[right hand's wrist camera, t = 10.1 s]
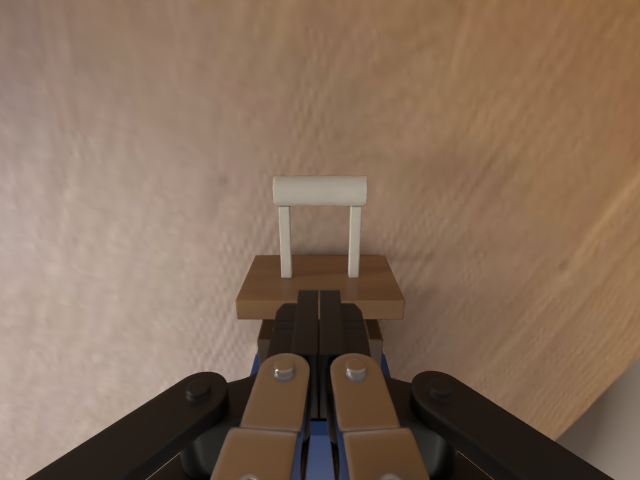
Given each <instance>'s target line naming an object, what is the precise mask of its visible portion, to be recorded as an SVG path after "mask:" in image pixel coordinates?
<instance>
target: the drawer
mask: <svg viewBox="0 0 640 480" xmlns="http://www.w3.org/2000/svg"><path fill="white" fill-rule="evenodd" d="M367 193H368V185H367V177H366V176H274V179H273V200H274V204H275V206H279V229H280V251H281V255H256V256H255V258H254V261H253V263H252V265H251V267H250V270H249V272H248V274H247V276H246V279H245V281H244V283H243V285H242V288H241V290H240V292H239V294H238V296H237V299H236V310H237V318H238V319H263V321H262V325H261V329H260V332H259V336H258V339H257V341H258V354H259V367H260V366H261V364H262V363H263V362H264V361H265V360H266V357H267V353H268V348H269V343H270V339H271V334H272V330H273V325H274V322H275V316H276V311H277V310H278V309H279V308H280V307H281V306H282V305H283V304H284V303H297V299H298V291H299V290H318V418H311V421H327V418H320V290H340V298H341V303H355V305H356V306H357V307H358V308H359V309H360V310H361V311H362V315H363V320H364V325H365V330H366V334H367V339H368V344H369V349H370V353H371V358H372V359H374V360H375V361H376V362H377V363H378V364H379V366H380V368H381V358H382V345H383V338H382V335H381V331H380V328H379V324H378V320H377V319H403V314H404V304H405V300H404V298H403V295H402V293H401V291H400V289H399V287H398V284H397V282H396V280H395V278H394V275H393V273H392V271H391V269H390V266H389V264H388V262H387V260H386V258H385V256H384V255H360V237H361V215H362V207H361V206H365V205H366V202H367ZM290 206H350V230H349V255H292V247H291V216H290Z"/></svg>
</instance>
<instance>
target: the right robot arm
mask: <svg viewBox="0 0 640 480" xmlns="http://www.w3.org/2000/svg"><path fill="white" fill-rule="evenodd" d="M311 418H318V290H299V291H298V299H297V303H284V304H283V305H282V306H281V307H280V308H279V309H278V310H277V311H276V316H275V322H274V325H273V330H272V334H271V339H270V343H269V348H268V353H267V357H266V360H265V361H264V362H263V363H262V364H261V366H260V368H259V371H257V372H256V373H255V374H253V375H251V376H249V377H247V378H244V379H241V380H237V381H233V382H229V383H227V382H226V380H225V378H224V377H223V376H222V375H220V374H218V373H214V372H200V373H196V374H193V375H190V376H188V377H186V378H184V379H183V380H181V381H180V382H178V383H177V384H175V385H173V386H172V387H170V388H169V389H167V390H166V391H164V392H162V393H161V394H159V395H158V396H156V397H155V398H153V399H151V400H150V401H148V402H147V403H145V404H144V405H142V406H140V407H139V408H137V409H136V410H134V411H133V412H131V413H129V414H128V415H126V416H125V417H123V418H122V419H120V420H118V421H117V422H115V423H114V424H112V425H111V426H109V427H108V428H106V429H104V430H103V431H101V432H100V433H98V434H97V435H95V436H93V437H92V438H90V439H89V440H87V441H86V442H84V443H82V444H81V445H79V446H78V447H76V448H75V449H73V450H71V451H70V452H68V453H67V454H65V455H64V456H62V457H60V458H59V459H57V460H56V461H54V462H53V463H51V464H49V465H48V466H46V467H45V468H43V469H42V470H40V471H38V472H37V473H35V474H34V475H32V476H31V477H29V478H28V479H26V480H146V479H147V478H148V479H147V480H307V474H308V465H309V455H310V446H311ZM320 418H327V433H328V436H329V446H330V455H331V465H332V474H333V480H493V479H494V480H614V479H612V478H611V477H609V476H608V475H606V474H605V473H603V472H601V471H600V470H598V469H597V468H595V467H594V466H592V465H590V464H589V463H587V462H586V461H584V460H583V459H581V458H580V457H578V456H576V455H575V454H573V453H572V452H570V451H569V450H567V449H565V448H564V447H562V446H561V445H559V444H558V443H556V442H554V441H553V440H551V439H550V438H548V437H547V436H545V435H543V434H542V433H540V432H539V431H537V430H536V429H534V428H532V427H531V426H529V425H528V424H526V423H525V422H523V421H522V420H520V419H518V418H517V417H515V416H514V415H512V414H511V413H509V412H507V411H506V410H504V409H503V408H501V407H500V406H498V405H496V404H495V403H493V402H492V401H490V400H489V399H487V398H485V397H484V396H482V395H481V394H479V393H478V392H476V391H474V390H473V389H471V388H470V387H468V386H467V385H465V384H463V383H462V382H460V381H459V380H457V379H456V378H454V377H452V376H450V375H448V374H445V373H442V372H438V371H425V372H422V373H419V374H418V375H416V376H415V377H414V379H413V380H412V383H408V382H404V381H400V380H396V379H393V378H390V377H388V376H386V375H384V374H383V373H382V371H381V368H380V366H379V364H378V363H377V362H376V361H375V360H374V359H372V358H371V353H370V349H369V344H368V339H367V334H366V330H365V325H364V320H363V315H362V311H361V310H360V309H359V308H358V307H357V306H356V305H355V303H341V298H340V290H320ZM458 451H459V452H460V453H459V452H458ZM178 453H179V454H178ZM461 453H462V454H463V455H464V456H465V457H464V456H463V455H462V454H461ZM177 454H178V455H177ZM176 455H177V456H176ZM175 456H176V457H175ZM173 457H174V458H173ZM466 457H467V458H468V459H469V460H470V461H469V460H468V459H467V458H466ZM172 458H173V459H172ZM171 459H172V460H171ZM170 460H171V461H170ZM168 461H169V462H168ZM471 461H472V462H473V463H474V464H475V465H474V464H473V463H472V462H471ZM167 462H168V463H167ZM166 463H167V464H166ZM165 464H166V465H165ZM163 465H164V466H163ZM476 465H477V466H478V467H479V468H480V469H482V470H483V471H484V472H485V473H486V474H485V473H484V472H483V471H482V470H480V469H479V468H478V467H477V466H476ZM162 466H163V467H162ZM161 467H162V468H161ZM160 468H161V469H160ZM158 469H160V470H158ZM157 470H158V471H157ZM156 471H157V472H156ZM155 472H156V473H155ZM154 473H155V474H154ZM152 474H153V475H152ZM487 474H488V475H489V476H490V477H491V478H490V477H489V476H488V475H487ZM151 475H152V476H151ZM150 476H151V477H150ZM149 477H150V478H149ZM492 478H493V479H492Z"/></svg>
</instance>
